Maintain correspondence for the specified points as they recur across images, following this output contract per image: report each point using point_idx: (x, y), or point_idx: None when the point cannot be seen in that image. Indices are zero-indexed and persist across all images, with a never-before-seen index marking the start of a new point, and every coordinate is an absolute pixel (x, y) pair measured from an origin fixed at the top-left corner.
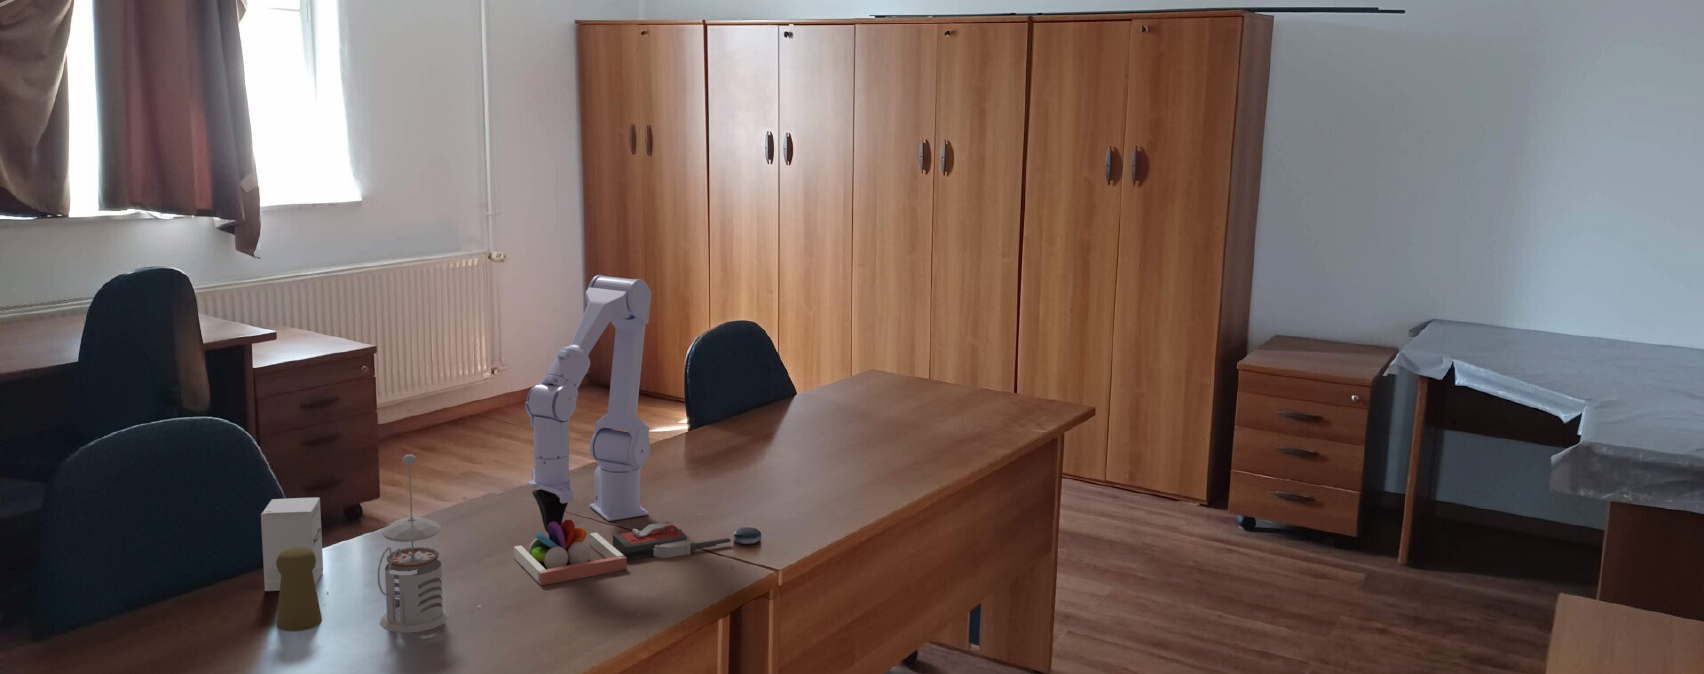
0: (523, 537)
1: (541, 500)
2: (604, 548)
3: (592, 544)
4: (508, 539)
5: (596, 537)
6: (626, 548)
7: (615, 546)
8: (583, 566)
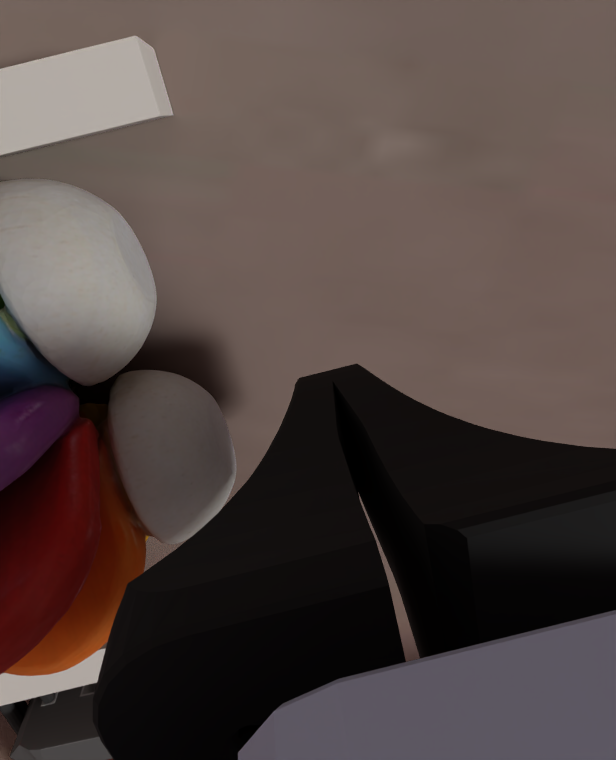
0: (579, 177)
1: (132, 601)
2: None
3: None
4: (591, 49)
5: None
6: (17, 739)
7: None
8: None
